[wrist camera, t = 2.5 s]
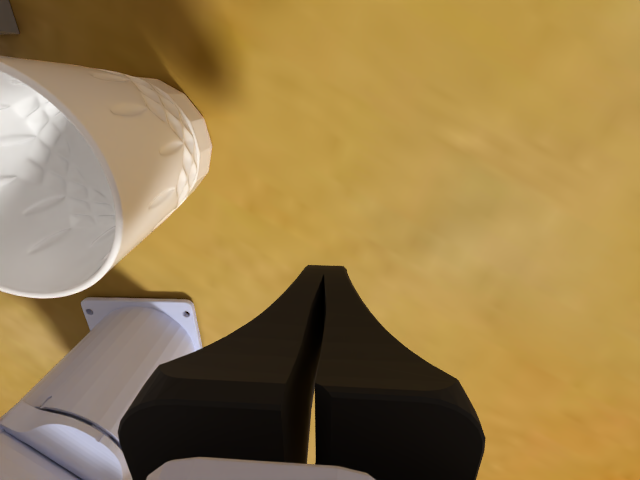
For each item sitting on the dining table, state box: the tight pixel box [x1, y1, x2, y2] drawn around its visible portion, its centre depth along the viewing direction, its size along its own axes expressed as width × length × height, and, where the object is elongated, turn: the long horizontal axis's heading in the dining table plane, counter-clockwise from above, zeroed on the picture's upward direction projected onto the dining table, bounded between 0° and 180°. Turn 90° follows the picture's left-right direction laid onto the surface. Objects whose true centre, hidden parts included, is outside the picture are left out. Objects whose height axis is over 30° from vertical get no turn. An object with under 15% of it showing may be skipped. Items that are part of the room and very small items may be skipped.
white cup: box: [0, 56, 212, 298], centre depth 15 cm, size 8×8×10 cm
